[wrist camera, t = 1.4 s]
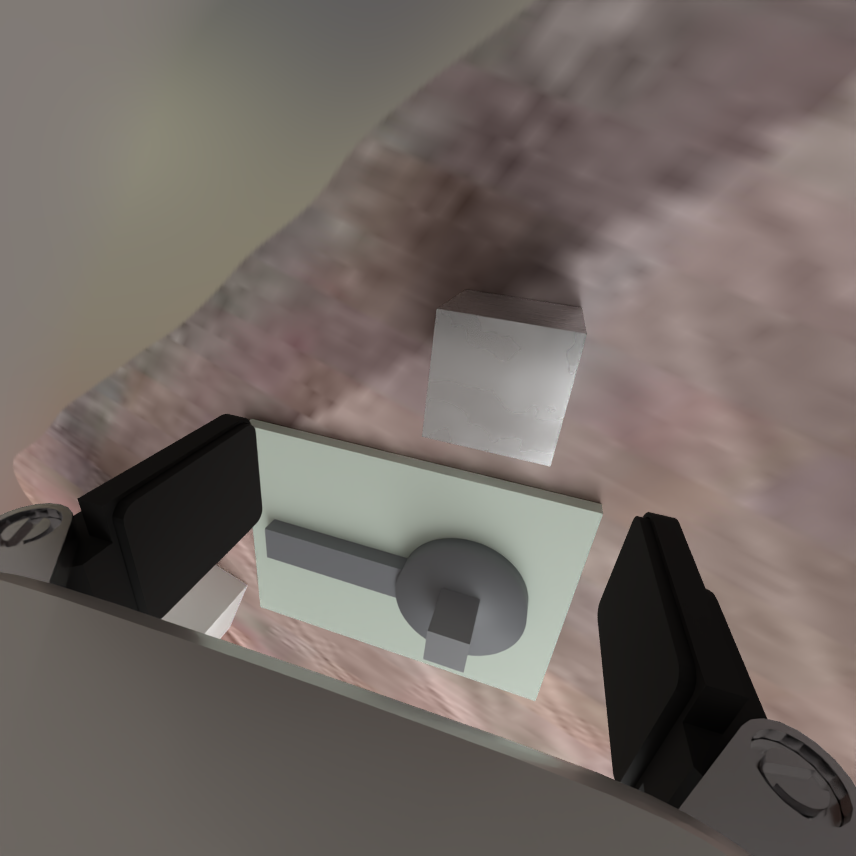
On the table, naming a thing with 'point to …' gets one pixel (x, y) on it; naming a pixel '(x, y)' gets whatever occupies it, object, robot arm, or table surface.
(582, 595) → the table surface
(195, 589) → the corner bracket
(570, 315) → the brushed aluminum cube
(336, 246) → the table surface
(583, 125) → the table surface
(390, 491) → the board
